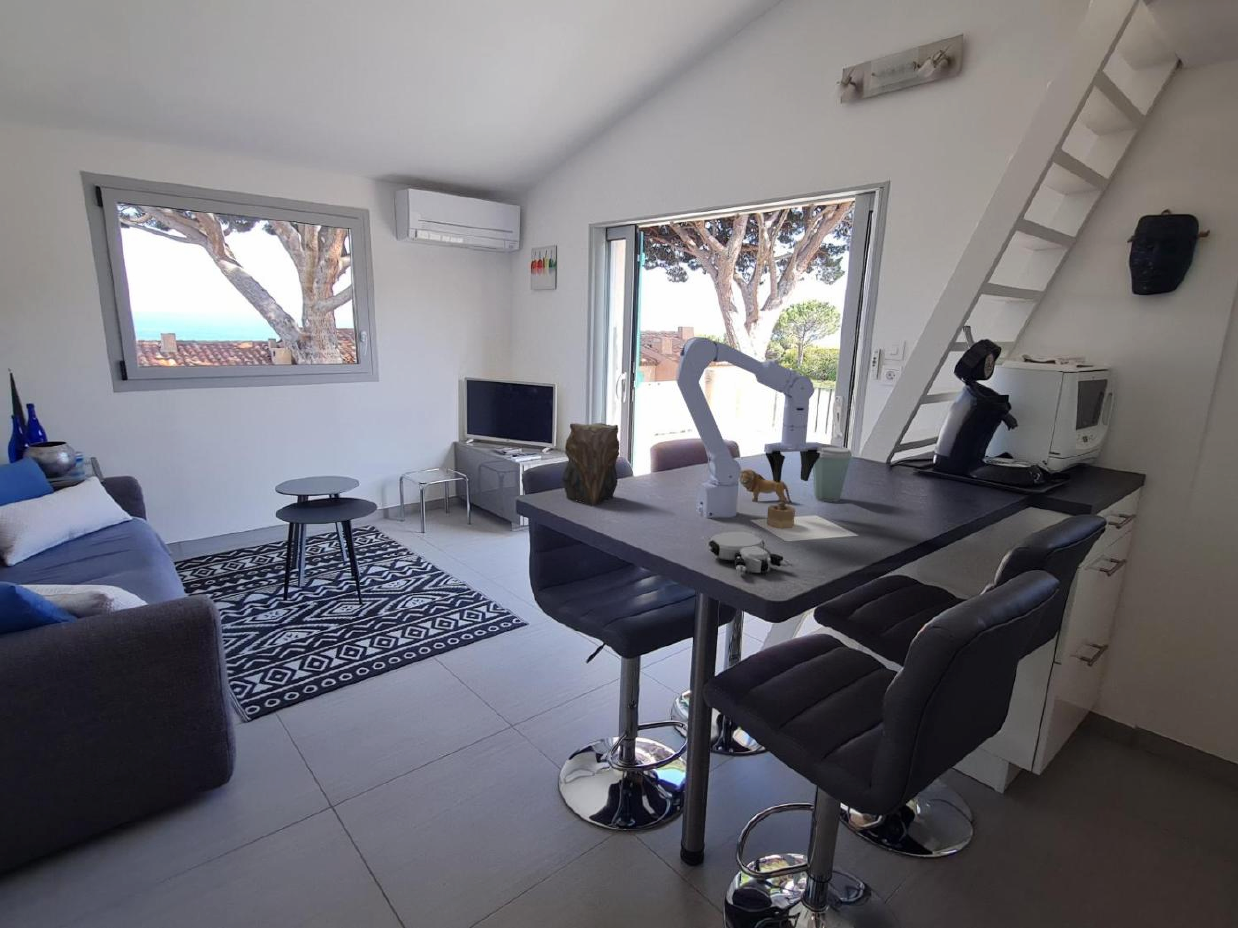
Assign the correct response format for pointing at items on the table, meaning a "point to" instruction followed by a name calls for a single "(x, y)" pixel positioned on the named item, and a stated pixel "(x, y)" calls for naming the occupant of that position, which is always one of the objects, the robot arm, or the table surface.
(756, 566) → the robot toy
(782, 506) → the rod
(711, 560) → the table surface
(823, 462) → the disposable coffee cup
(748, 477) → the lion figurine
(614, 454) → the owl
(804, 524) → the white flat rectangular panel
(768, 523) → the oak bead
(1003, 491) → the table surface
